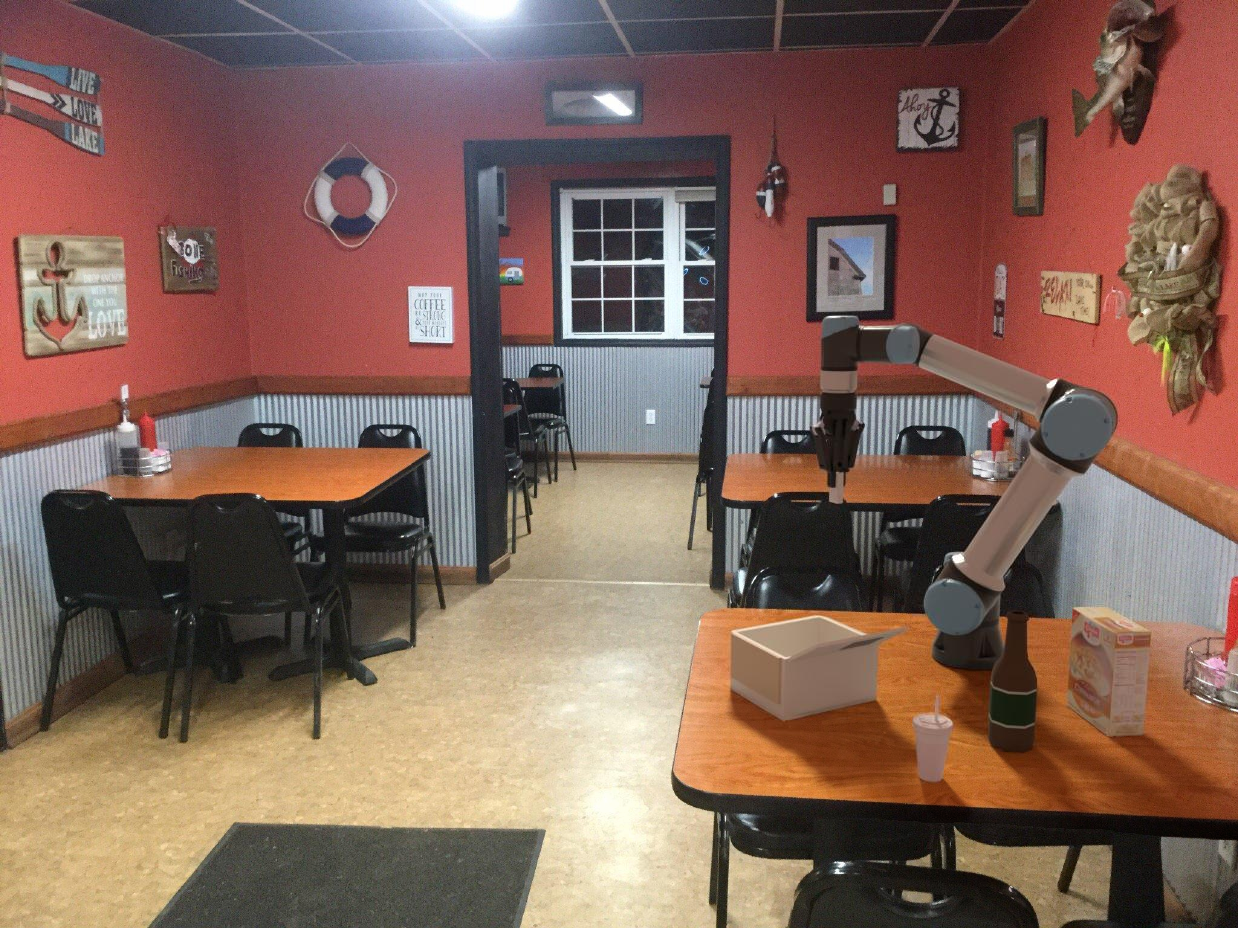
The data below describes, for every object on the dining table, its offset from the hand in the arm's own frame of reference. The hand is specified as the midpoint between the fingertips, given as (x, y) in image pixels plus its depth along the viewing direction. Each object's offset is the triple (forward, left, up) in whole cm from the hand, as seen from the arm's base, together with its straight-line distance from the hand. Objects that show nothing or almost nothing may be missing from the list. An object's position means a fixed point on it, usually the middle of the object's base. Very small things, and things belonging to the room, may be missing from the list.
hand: (835, 502), depth 226 cm
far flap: (-15, +30, -20) cm, 38 cm away
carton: (-3, +23, -34) cm, 41 cm away
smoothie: (-35, +45, -35) cm, 67 cm away
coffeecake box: (-55, +5, -35) cm, 65 cm away
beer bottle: (-43, +25, -35) cm, 61 cm away
